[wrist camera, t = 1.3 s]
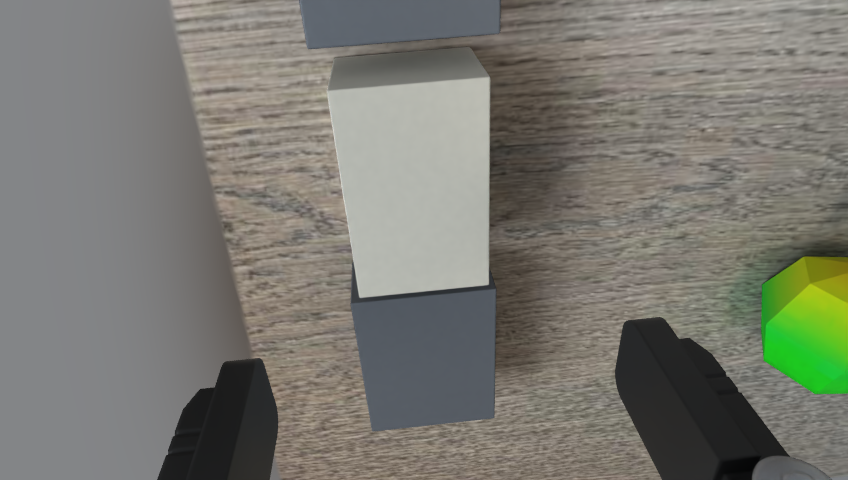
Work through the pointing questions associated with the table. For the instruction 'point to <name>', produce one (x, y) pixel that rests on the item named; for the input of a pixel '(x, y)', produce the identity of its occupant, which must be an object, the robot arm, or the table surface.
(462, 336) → the pair of grey blocks
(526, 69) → the table surface
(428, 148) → the cream rectangular block
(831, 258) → the apple
